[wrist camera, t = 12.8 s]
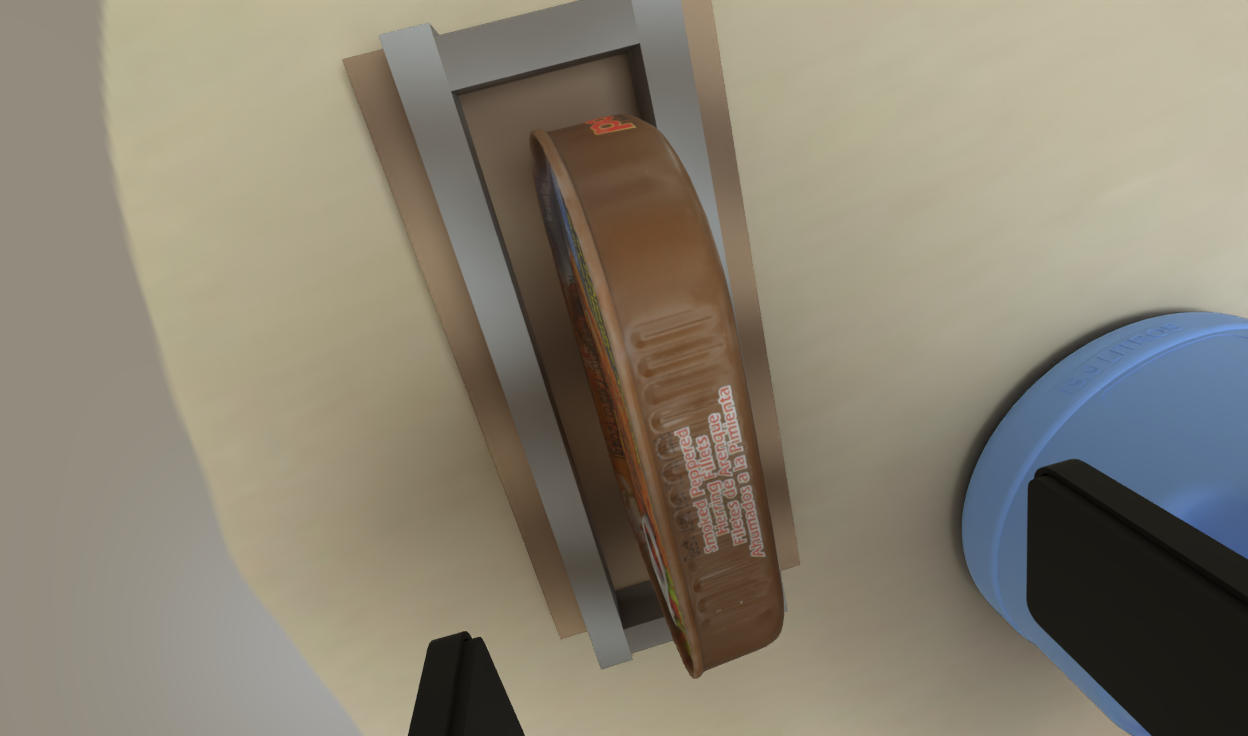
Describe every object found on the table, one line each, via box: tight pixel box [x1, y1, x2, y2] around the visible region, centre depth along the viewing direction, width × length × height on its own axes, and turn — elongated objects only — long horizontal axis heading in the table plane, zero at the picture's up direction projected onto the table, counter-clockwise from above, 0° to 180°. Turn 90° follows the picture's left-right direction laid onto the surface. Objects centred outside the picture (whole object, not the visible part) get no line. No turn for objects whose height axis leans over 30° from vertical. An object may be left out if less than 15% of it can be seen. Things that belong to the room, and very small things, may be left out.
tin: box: [529, 114, 784, 679], centre depth 16 cm, size 15×3×8 cm, turn 13°
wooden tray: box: [342, 0, 800, 669], centre depth 20 cm, size 21×10×3 cm, turn 14°
